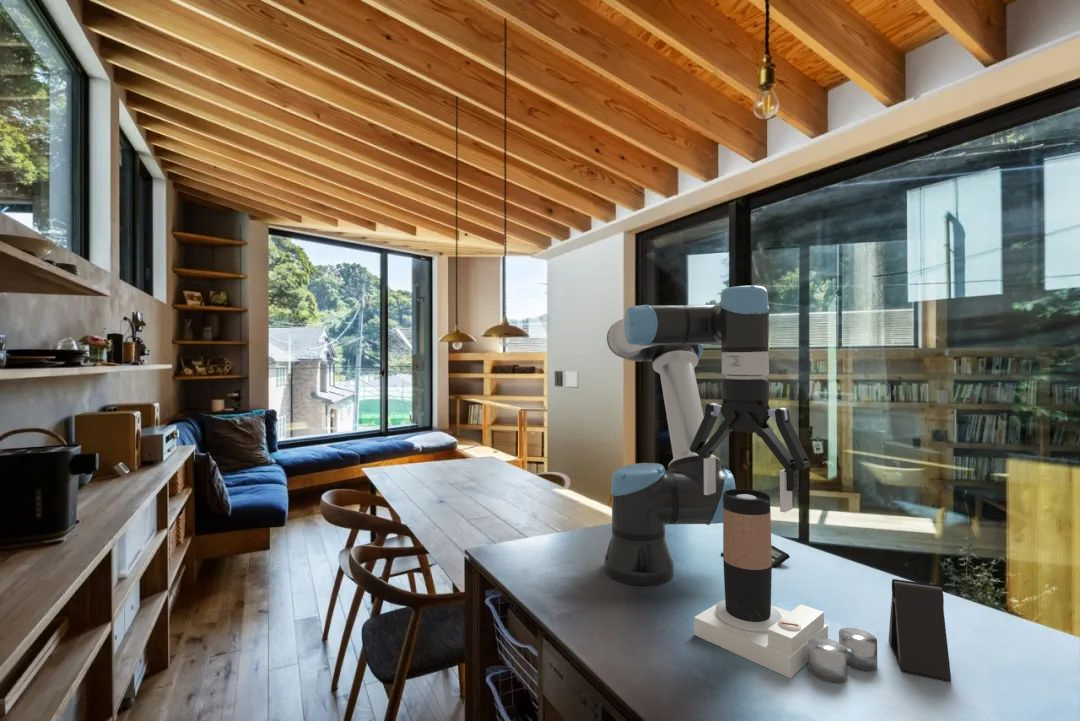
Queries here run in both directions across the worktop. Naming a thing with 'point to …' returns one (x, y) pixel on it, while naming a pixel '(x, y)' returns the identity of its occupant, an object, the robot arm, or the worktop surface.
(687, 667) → the worktop surface
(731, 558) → the travel mug
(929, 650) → the phone stand
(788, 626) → the scale
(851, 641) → the cylinder
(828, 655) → the cylinder
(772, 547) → the calculator
